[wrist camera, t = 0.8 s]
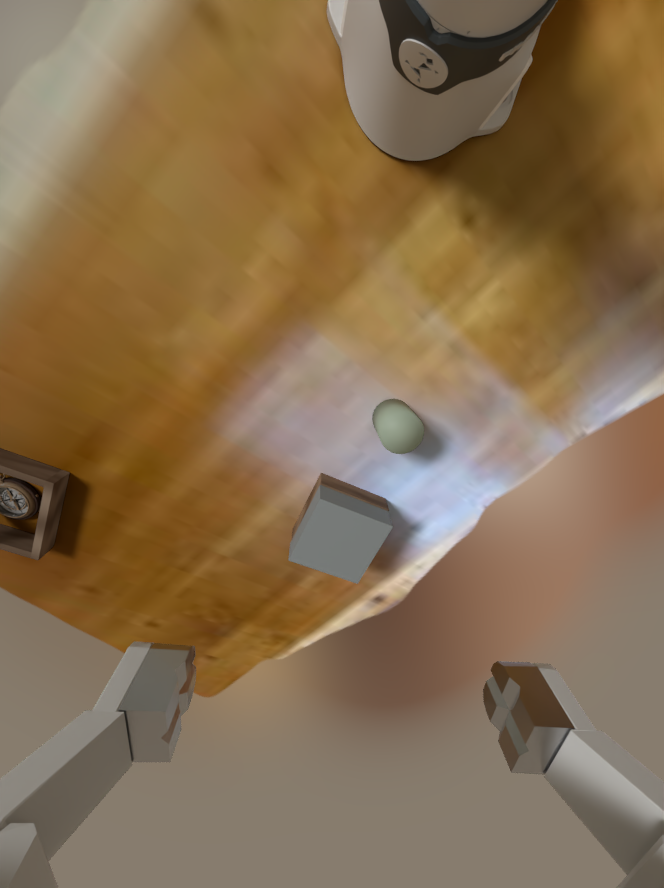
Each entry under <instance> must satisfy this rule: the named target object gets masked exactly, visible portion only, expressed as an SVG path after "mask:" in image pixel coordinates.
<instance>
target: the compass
mask: <svg viewBox="0 0 664 888" xmlns="http://www.w3.org/2000/svg"><path fill="white" fill-rule="evenodd" d="M3 474H4V473H3ZM39 508H40V498H39V495H38V494H37V492H36V491H35V490H34V489H33V488H32V487H31V486H30V485H29V484H27V483H25V482H24V481H21V480H18V479H15V478H5V474H4V477H2V476H1V475H0V514H2V515H4V516H6V517H9V518H12V519H20V520H21V519H27V518H29V517H31V516H33V515H34V514H36V512H37V511H38V510H39Z"/></svg>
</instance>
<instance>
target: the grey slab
mask: <svg viewBox="0 0 664 888" xmlns="http://www.w3.org/2000/svg"><path fill="white" fill-rule="evenodd" d="M392 528H393V525H392V522H391V519H390V516H389V513H388V511H387V510H384V509H381V508H379V507H376V506H374V505H371V504H369V503H366V502H363V501H361V500H358V499H356V498H353V497H351V496H348V495H345V494H343V493H340V492H338V491H335V490H333V489H330V488H327V487H325V486H322V485H320V486H319V488H318V490H317V492H316V494H315V496H314V497H313V499H312V501H311V503H310V505H309V507H308V509H307V511H306V513H305V515H304V517H303V519H302V521H301V523H300V525H299V527H298V529H297V531H296V533H295V535H294V537H293V539H292V541H291V543H290V551H289V561H292V562H295V563H298V564H301V565H304V566H307V567H310V568H312V569H315V570H318V571H321V572H324V573H327V574H330V575H333V576H336V577H339V578H342V579H345V580H348V581H351V582H354V583H357V584H358V582H359V581H360V579H361V577H362V576H363V574H364V573H365V571H366V569H367V568H368V566H369V565H370V563H371V561H372V560H373V558H374V557H375V555H376V553H377V552H378V550H379V549H380V547H381V545H382V544H383V542H384V541H385V539H386V537H387V536H388V534H389V533H390V531H391V529H392Z"/></svg>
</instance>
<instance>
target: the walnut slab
mask: <svg viewBox="0 0 664 888" xmlns="http://www.w3.org/2000/svg"><path fill="white" fill-rule="evenodd" d="M320 485H322V486H325V487H327V488H330V489H333V490H335V491H338V492H340V493H343V494H345V495H348V496H351V497H353V498H356V499H358V500H361V501H363V502H366V503H369V504H371V505H374V506H376V507H379V508H381V509H384V510H387V511H389V508H388V505H387V503H386V500H385V498H383V497H380V496H378V495H375V494H373V493H370V492H368V491H365V490H363V489H360V488H358V487H355V486H353V485H350V484H348V483H345V482H343V481H340V480H338V479H335V478H333V477H330V476H328V475H325V474H323V473H321V474H320V476H319V478H318V480H317V482H316V484H315V486H314V488H313V490H312V492H311V494H310V496H309V498H308V500H307V502H306V504H305V506H304V508H303V510H302V512H301V514H300V516H299V518H298V520H297V522H296V524H295V526H294V528H293V532H292V539H293V537H294V535H295V533H296V531H297V529H298V527H299V525H300V523H301V521H302V519H303V517H304V515H305V513H306V511H307V509H308V507H309V505H310V503H311V501H312V499H313V497H314V496H315V494H316V492H317V490H318V488H319V486H320Z"/></svg>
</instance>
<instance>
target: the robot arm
mask: <svg viewBox="0 0 664 888" xmlns="http://www.w3.org/2000/svg"><path fill="white" fill-rule="evenodd" d="M557 1H558V0H328V3H327V16H328V20H329V24H330V26H331V29H332V32H333V34H334V36H335V39H336V41H337V43H338V45H339V47H340V50H341V54H342V61H343V70H344V80H345V87H346V92H347V96H348V100H349V103H350V106H351V109H352V111H353V114H354V116H355V118H356V120H357V122H358V124H359V125H360V127H361V128H362V130H363V131H364V133H365V134H366V135H367V137H368V138H369V139H370V140H371V141H372V142H373V143H374V144H375V145H376V146H378V147H379V148H380V149H381V150H383V151H384V152H386V153H388V154H390V155H392V156H394V157H397V158H400V159H404V160H410V161H422V160H428V159H432V158H435V157H438V156H441V155H443V154H445V153H447V152H449V151H450V150H452V149H453V148H455V147H456V146H458V145H459V144H460V143H462V142H463V141H465V140H467V139H468V138H470V137H474V136H481V135H486V134H491V133H493V132H496V131H498V130H499V129H500V128H501V127H502V126H503V125H504V123H505V122H506V121H507V119H508V117H509V115H510V112H511V109H512V106H513V103H514V100H515V97H516V95H517V92H518V89H519V86H520V83H521V80H522V77H523V75H524V74H525V73H526V71H527V70H528V68H529V67H530V65H531V63H532V60H533V58H532V55H531V53H532V51H533V48H534V46H535V43H536V40H537V37H538V34H539V31H540V27H541V24H542V23H543V22H544V20H545V19H546V18H547V16H548V15H549V13H550V12H551V11H552V9H553V8H554V6H555V4H556V2H557ZM502 102H503V103H502ZM194 657H195V646H188V645H175V644H162V643H149V642H133V643H132V644H131V645H130V646H129V647H128V649H127V650H126V652H125V654H124V656H123V657H122V660H121V661H120V663H119V665H118V666H117V668H116V670H115V671H114V673H113V675H112V677H111V678H110V680H109V682H108V684H107V685H106V687H105V689H104V691H103V693H102V694H101V696H100V698H99V700H98V701H97V703H96V705H95V706H94V708H93V710H85V711H84V712H83V713H82V714H80V715H79V716H78V717H77V718H75V719H74V720H73V721H72V722H70V723H69V724H68V725H67V726H65V727H64V728H63V729H62V730H60V731H59V732H58V733H57V734H55V735H54V736H53V737H52V738H50V739H49V740H48V741H47V742H46V743H44V744H43V745H42V746H40V747H39V748H38V749H37V750H36V751H35V752H33V753H32V754H31V755H29V756H28V757H27V758H26V759H24V760H23V761H22V762H21V763H19V764H18V765H17V766H16V767H14V768H13V769H12V770H11V771H9V772H8V773H7V774H6V775H4V776H3V777H2V778H1V779H0V888H58V885H57V883H56V880H55V877H54V875H53V872H52V870H51V867H50V864H49V860H50V859H51V857H53V856H54V854H55V853H56V852H57V851H58V850H59V849H60V847H61V846H62V845H63V844H64V843H65V842H66V841H67V839H68V838H69V837H70V836H71V835H72V834H73V833H74V831H75V830H76V829H77V828H78V827H79V826H80V824H81V823H82V822H83V821H84V820H85V819H86V818H87V816H88V815H89V814H90V813H91V812H92V811H93V810H94V808H95V807H96V806H97V805H98V804H99V803H100V801H101V800H102V799H103V798H104V797H105V796H106V794H107V793H108V792H109V791H110V790H111V789H112V788H113V787H114V785H115V784H116V783H117V782H118V781H119V780H120V779H121V777H122V776H123V775H124V774H125V773H126V771H128V769H129V768H130V767H131V766H132V762H170V761H171V759H172V756H173V753H174V750H175V747H176V743H177V741H178V738H179V735H180V732H181V716H182V715H183V714H184V713H185V712H186V711H187V710H188V708H189V704H190V701H191V698H192V694H193V690H194V686H195V679H196V667H195V666H194V665H193V664H192V663H193V660H194ZM491 672H492V674H493V677H491V678H490V679H489V680H487V681H486V683H485V686H484V689H483V698H484V705H485V708H486V712H487V715H488V717H489V720H490V722H491V723H492V724H493V725H494V726H495V727H496V728H497V729H498V730H499V731H500V734H499V740H498V742H499V744H500V747H501V749H502V751H503V754H504V756H505V758H506V761H507V763H508V766H509V768H510V771H511V772H513V773H529V774H544V775H545V776H544V777H545V778H546V780H547V781H548V782H549V783H550V785H551V786H552V787H553V788H554V789H555V790H556V791H557V793H558V794H559V795H560V796H561V798H562V799H563V800H564V801H565V802H566V803H567V805H568V806H569V807H570V808H571V809H572V811H573V812H574V813H575V814H576V815H577V816H578V818H579V819H580V820H581V821H582V822H583V824H584V825H585V826H586V827H587V828H588V829H589V831H590V832H591V833H592V834H593V835H594V837H595V838H596V839H597V840H598V841H599V842H600V844H601V845H602V846H603V847H604V848H605V849H606V851H607V852H608V853H609V854H610V855H611V857H612V858H613V859H614V860H615V861H616V863H617V864H618V865H619V866H620V867H621V868H622V869H623V871H624V872H625V873H626V874H627V876H626V877H625V878H624V880H623V881H622V882H621V883H620V884H619V885H618V886H617V887H616V888H664V782H663V781H662V780H661V779H660V778H658V777H657V776H656V775H655V774H654V773H652V772H651V771H650V770H649V769H648V768H646V767H645V766H644V765H643V764H641V763H640V762H639V761H638V760H637V759H636V758H634V757H633V756H632V755H631V754H629V753H628V752H627V751H626V750H625V749H623V748H622V747H621V746H620V745H619V744H617V743H616V742H615V741H614V740H613V739H611V738H610V737H609V736H608V735H606V734H605V733H604V732H603V731H598V730H596V729H595V727H594V726H593V724H592V723H591V721H590V720H589V718H588V717H587V715H586V714H585V712H584V711H583V709H582V708H581V706H580V705H579V703H578V702H577V700H576V699H575V697H574V696H573V694H572V693H571V691H570V689H569V688H568V687H567V685H566V683H565V682H564V680H563V679H562V677H561V676H560V674H559V673H558V671H557V670H556V669H555V668H554V667H553V666H552V665H551V664H537V663H529V662H501V661H500V662H499V661H497V662H496V663H494V664H493V666H492V668H491Z"/></svg>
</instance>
